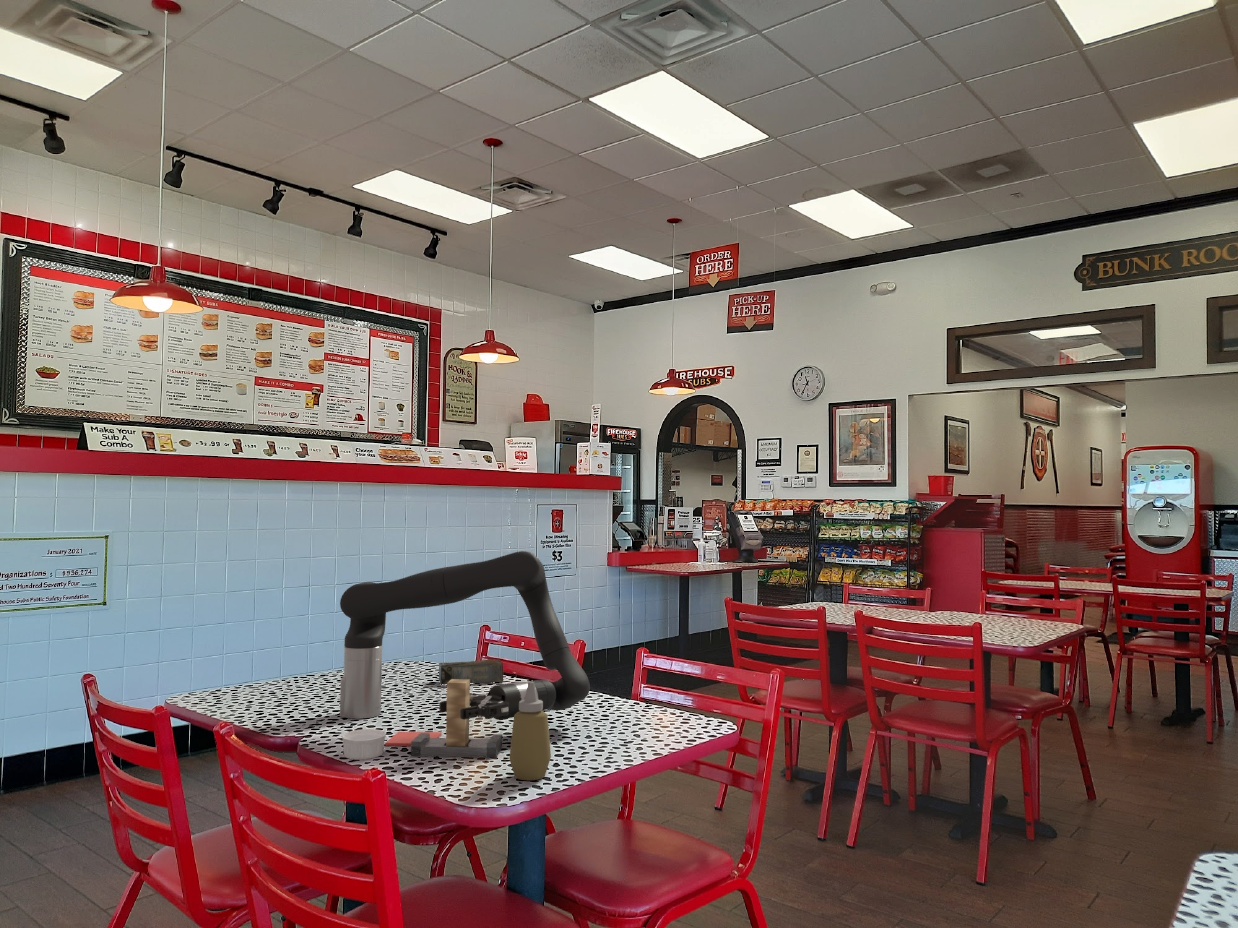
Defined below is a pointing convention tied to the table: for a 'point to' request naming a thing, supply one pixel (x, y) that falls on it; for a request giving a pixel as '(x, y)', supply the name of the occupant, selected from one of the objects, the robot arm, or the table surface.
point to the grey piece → (456, 747)
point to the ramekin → (363, 744)
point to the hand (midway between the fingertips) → (450, 710)
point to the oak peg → (457, 712)
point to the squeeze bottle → (530, 738)
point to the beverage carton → (472, 671)
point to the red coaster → (408, 738)
